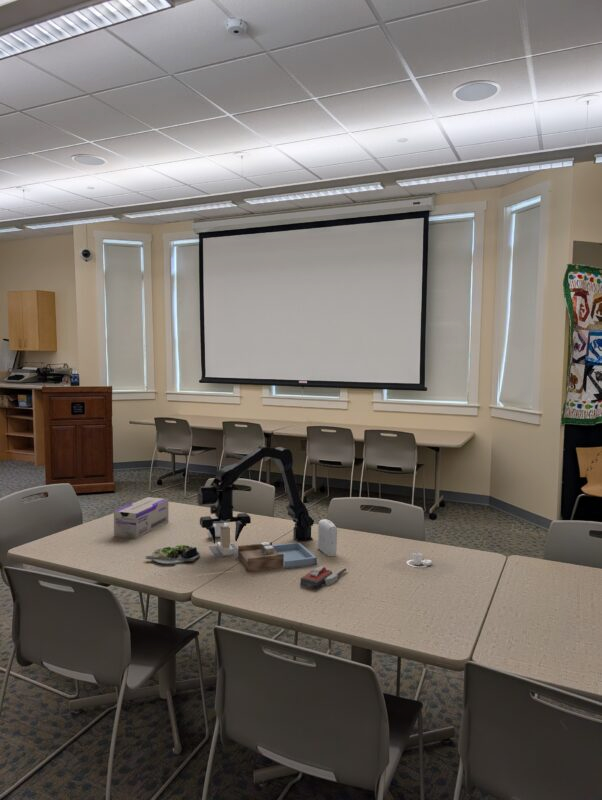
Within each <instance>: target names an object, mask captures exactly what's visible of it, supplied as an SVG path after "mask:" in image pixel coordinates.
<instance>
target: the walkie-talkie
mask: <svg viewBox="0 0 602 800" xmlns="http://www.w3.org/2000/svg"><path fill="white" fill-rule="evenodd" d="M346 571H347V568H343V569H342V570H340V571H338V572H337V573H333V571H331V570H330V569H327V568H326V566H320V565H319V566H317V567H315V568H314V569H313V570H310V572H307V574H305V575H304V576H302V577H300V582H299V583H300V587H304V588H306V589H307V588H308V589H311V590H315V591H316V590H319V589H320V588H321V587H323V586H328V585H329V586H330V585H332V584H334V583H335V582H338V581H339V577H340V576H341V575H342V574H344V572H346Z"/></svg>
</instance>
